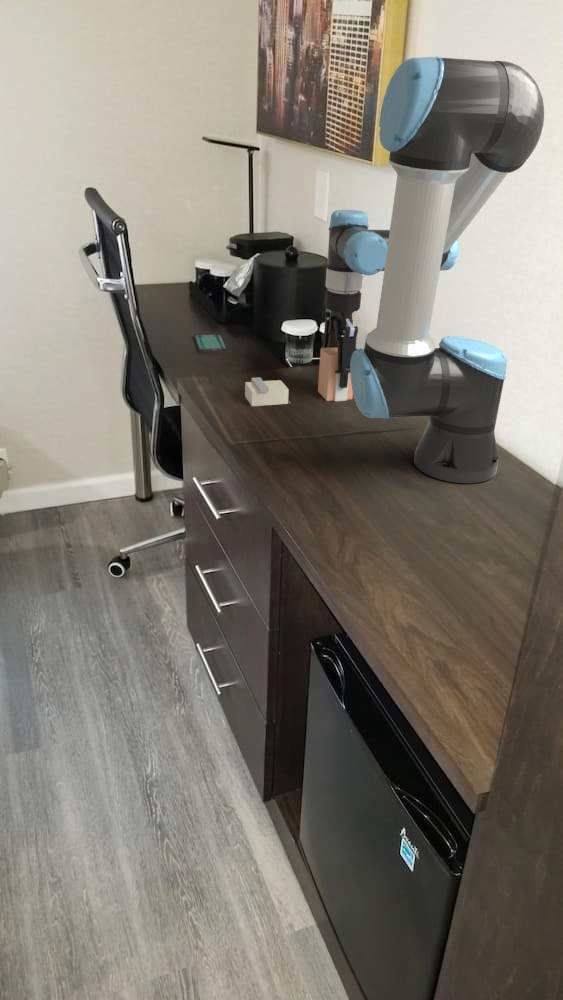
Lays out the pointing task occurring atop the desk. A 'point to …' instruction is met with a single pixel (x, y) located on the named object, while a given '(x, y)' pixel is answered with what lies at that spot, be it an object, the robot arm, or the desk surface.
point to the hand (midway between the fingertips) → (335, 394)
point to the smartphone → (210, 343)
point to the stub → (330, 374)
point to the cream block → (266, 392)
